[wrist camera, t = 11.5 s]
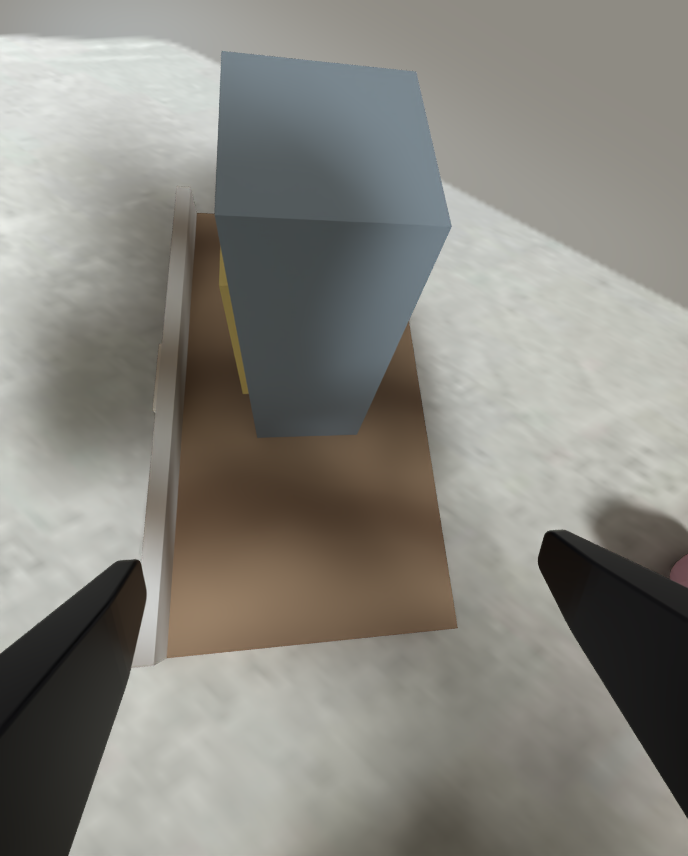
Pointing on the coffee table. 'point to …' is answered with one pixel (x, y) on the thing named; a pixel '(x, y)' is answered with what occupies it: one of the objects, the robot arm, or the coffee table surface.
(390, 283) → the tea tin
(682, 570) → the pink elongated piece
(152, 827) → the coffee table surface
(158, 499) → the board
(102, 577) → the robot arm
